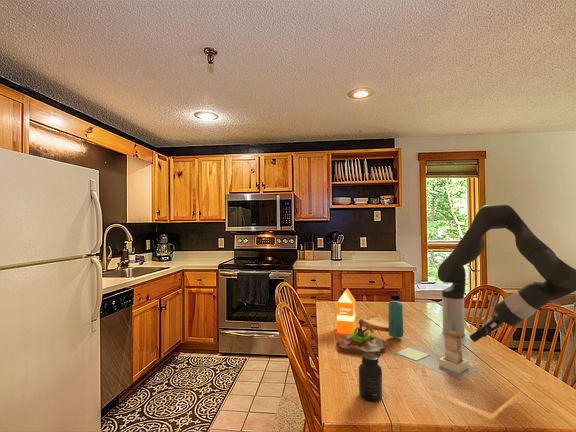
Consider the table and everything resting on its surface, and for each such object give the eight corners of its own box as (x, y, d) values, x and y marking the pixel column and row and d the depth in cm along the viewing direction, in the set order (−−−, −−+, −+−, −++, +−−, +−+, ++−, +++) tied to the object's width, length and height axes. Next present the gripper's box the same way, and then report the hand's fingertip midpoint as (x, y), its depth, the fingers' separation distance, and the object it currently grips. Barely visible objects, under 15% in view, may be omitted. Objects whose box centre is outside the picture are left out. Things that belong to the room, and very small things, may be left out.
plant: (389, 343, 140) (389, 317, 140) (381, 360, 122) (381, 331, 123) (344, 336, 149) (344, 312, 149) (331, 351, 131) (331, 324, 131)
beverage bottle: (404, 341, 141) (404, 296, 141) (389, 340, 142) (388, 295, 142) (402, 336, 147) (401, 293, 148) (387, 335, 148) (387, 292, 149)
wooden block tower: (450, 363, 116) (450, 330, 117) (462, 367, 113) (461, 333, 113) (445, 366, 114) (444, 332, 114) (456, 370, 111) (456, 335, 111)
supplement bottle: (356, 390, 99) (355, 352, 99) (377, 389, 100) (377, 351, 100) (363, 403, 92) (362, 361, 93) (385, 402, 93) (385, 360, 93)
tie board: (412, 348, 133) (412, 339, 133) (479, 371, 112) (479, 361, 112) (392, 356, 125) (392, 347, 125) (459, 383, 104) (459, 372, 104)
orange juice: (355, 328, 158) (355, 288, 159) (353, 334, 150) (352, 291, 151) (339, 327, 161) (339, 287, 162) (336, 332, 153) (336, 290, 153)
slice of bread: (401, 332, 155) (401, 324, 155) (364, 331, 155) (364, 324, 155) (391, 320, 172) (390, 313, 173) (357, 320, 173) (357, 313, 173)
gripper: (509, 295, 109) (472, 322, 116) (500, 302, 98) (460, 331, 106) (529, 314, 105) (489, 340, 112) (522, 323, 94) (478, 352, 102)
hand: (475, 336), depth 109 cm, fingers open, 8 cm apart
